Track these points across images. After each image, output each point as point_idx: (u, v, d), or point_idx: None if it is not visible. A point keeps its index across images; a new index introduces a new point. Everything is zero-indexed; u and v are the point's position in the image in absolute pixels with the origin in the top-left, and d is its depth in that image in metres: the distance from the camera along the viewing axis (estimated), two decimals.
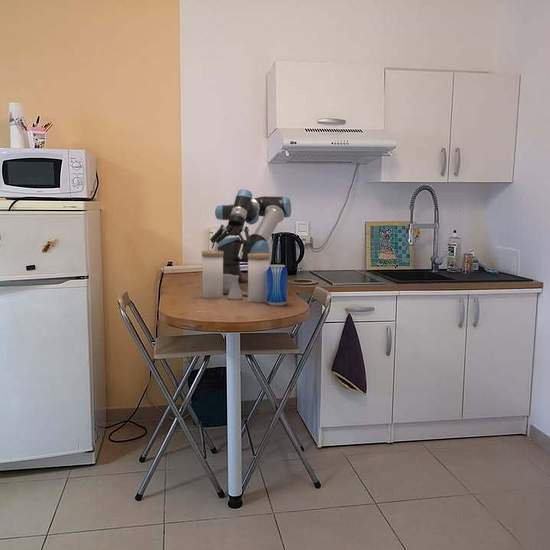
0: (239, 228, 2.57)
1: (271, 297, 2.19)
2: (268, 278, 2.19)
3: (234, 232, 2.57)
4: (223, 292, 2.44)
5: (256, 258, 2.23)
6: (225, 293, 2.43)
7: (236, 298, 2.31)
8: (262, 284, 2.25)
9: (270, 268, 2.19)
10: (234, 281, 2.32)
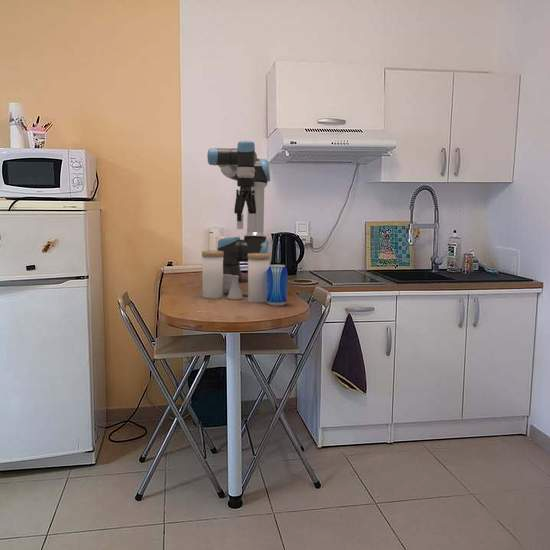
0: (250, 192, 2.40)
1: (271, 297, 2.19)
2: (268, 278, 2.19)
3: (248, 197, 2.39)
4: (223, 292, 2.44)
5: (256, 258, 2.23)
6: (225, 293, 2.43)
7: (236, 298, 2.31)
8: (262, 284, 2.25)
9: (270, 268, 2.19)
10: (234, 281, 2.32)
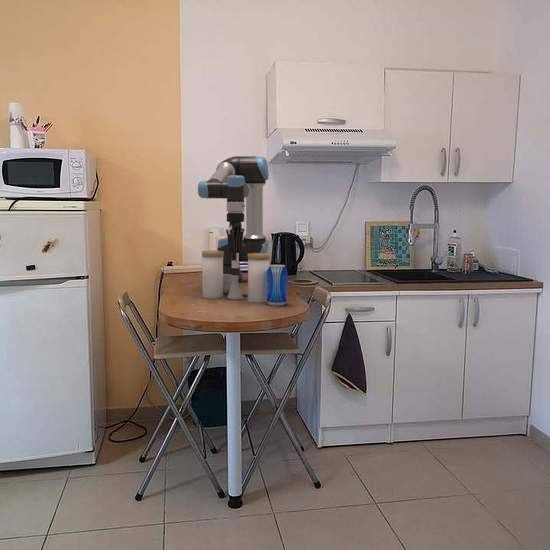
0: (240, 227, 2.33)
1: (271, 297, 2.19)
2: (268, 278, 2.19)
3: (238, 232, 2.31)
4: (223, 292, 2.44)
5: (256, 258, 2.23)
6: (225, 293, 2.43)
7: (236, 298, 2.31)
8: (262, 284, 2.25)
9: (270, 268, 2.19)
10: (234, 281, 2.32)
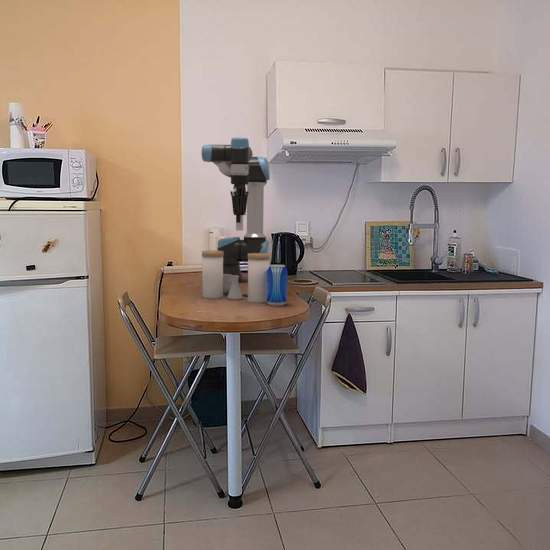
0: None
1: (271, 297, 2.19)
2: (268, 278, 2.19)
3: None
4: (223, 292, 2.44)
5: (256, 258, 2.23)
6: (225, 293, 2.43)
7: (236, 298, 2.31)
8: (262, 284, 2.25)
9: (270, 268, 2.19)
10: (234, 281, 2.32)
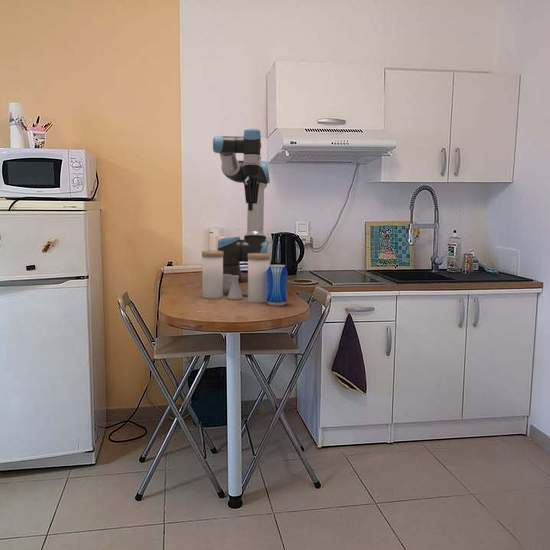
0: (256, 179, 2.45)
1: (271, 297, 2.19)
2: (268, 278, 2.19)
3: None
4: (223, 292, 2.44)
5: (256, 258, 2.23)
6: (225, 293, 2.43)
7: (236, 298, 2.31)
8: (262, 284, 2.25)
9: (270, 268, 2.19)
10: (234, 281, 2.32)
